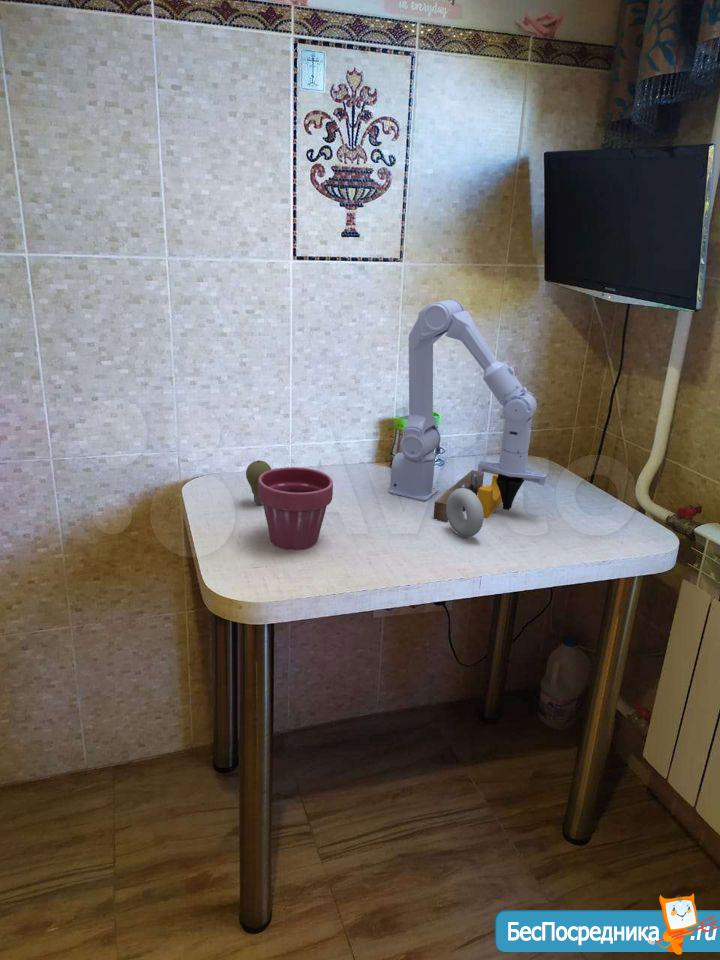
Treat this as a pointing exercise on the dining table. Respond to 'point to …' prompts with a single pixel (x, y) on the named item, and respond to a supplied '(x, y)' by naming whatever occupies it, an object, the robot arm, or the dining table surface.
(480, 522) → the donut
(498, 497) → the pipe clamp
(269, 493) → the plant pot
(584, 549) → the dining table surface
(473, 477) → the bench fence
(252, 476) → the light bulb
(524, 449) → the robot arm
